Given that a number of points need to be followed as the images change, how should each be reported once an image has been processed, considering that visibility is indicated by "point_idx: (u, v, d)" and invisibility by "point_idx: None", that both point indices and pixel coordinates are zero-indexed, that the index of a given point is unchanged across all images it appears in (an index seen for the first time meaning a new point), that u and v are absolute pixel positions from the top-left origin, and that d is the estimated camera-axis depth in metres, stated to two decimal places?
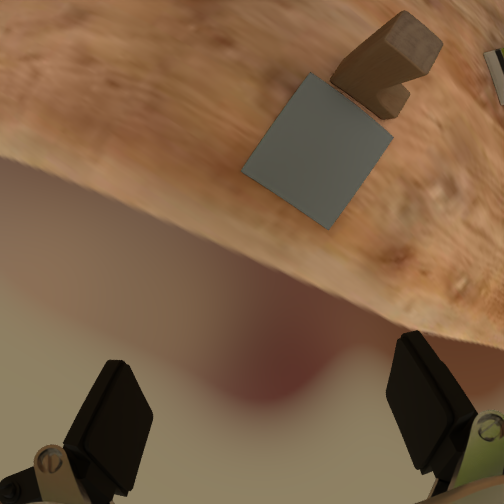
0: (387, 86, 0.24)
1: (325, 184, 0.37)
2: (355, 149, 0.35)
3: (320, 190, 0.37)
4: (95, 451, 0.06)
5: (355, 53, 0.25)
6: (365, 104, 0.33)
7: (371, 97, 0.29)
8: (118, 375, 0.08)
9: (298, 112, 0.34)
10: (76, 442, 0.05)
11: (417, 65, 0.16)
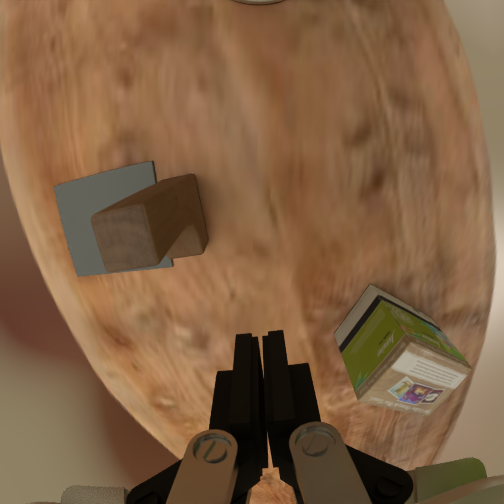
0: None
1: (94, 247, 0.38)
2: None
3: (88, 248, 0.38)
4: None
5: (157, 186, 0.27)
6: None
7: None
8: (254, 347, 0.09)
9: (114, 183, 0.34)
10: (246, 418, 0.06)
11: (102, 259, 0.19)
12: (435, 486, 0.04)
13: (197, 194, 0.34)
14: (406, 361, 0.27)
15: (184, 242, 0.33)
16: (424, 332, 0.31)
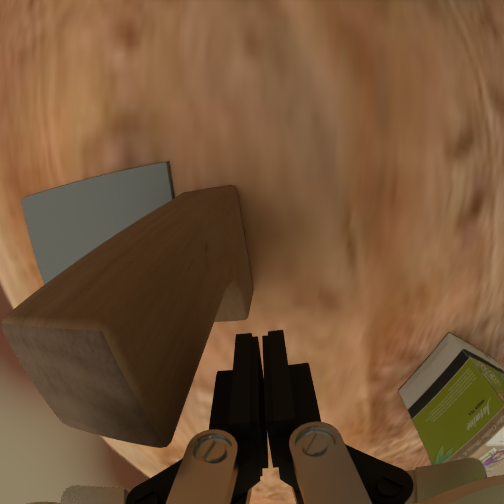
0: None
1: None
2: None
3: None
4: None
5: (170, 213, 0.15)
6: None
7: None
8: (254, 347, 0.09)
9: (106, 196, 0.22)
10: (247, 418, 0.06)
11: (47, 403, 0.07)
12: (435, 486, 0.04)
13: (240, 220, 0.22)
14: (501, 435, 0.15)
15: None
16: None
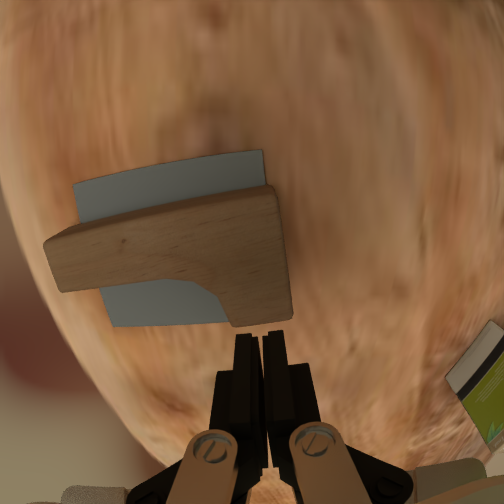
0: None
1: (144, 286, 0.25)
2: None
3: (133, 287, 0.25)
4: None
5: (161, 208, 0.20)
6: None
7: None
8: (254, 347, 0.09)
9: (189, 183, 0.21)
10: (246, 418, 0.06)
11: None
12: (435, 486, 0.04)
13: (265, 236, 0.18)
14: None
15: None
16: None
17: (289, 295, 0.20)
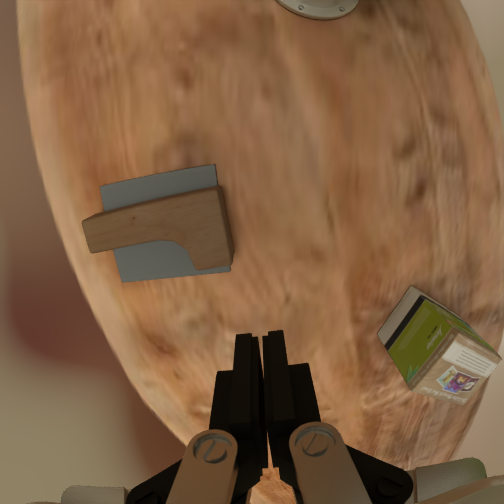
0: None
1: (144, 252, 0.38)
2: None
3: (137, 252, 0.38)
4: None
5: (155, 200, 0.34)
6: None
7: None
8: (254, 347, 0.09)
9: (172, 185, 0.36)
10: (247, 418, 0.06)
11: None
12: (435, 486, 0.04)
13: (211, 213, 0.32)
14: (454, 351, 0.28)
15: None
16: (462, 326, 0.32)
17: (228, 249, 0.34)
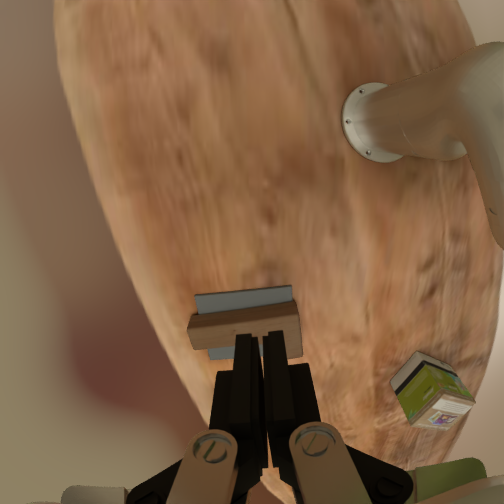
0: None
1: None
2: None
3: None
4: None
5: (248, 314, 0.47)
6: None
7: None
8: (254, 347, 0.09)
9: (258, 299, 0.49)
10: (247, 418, 0.06)
11: None
12: (435, 486, 0.04)
13: (293, 328, 0.45)
14: (440, 403, 0.41)
15: None
16: (449, 383, 0.45)
17: (301, 348, 0.47)
